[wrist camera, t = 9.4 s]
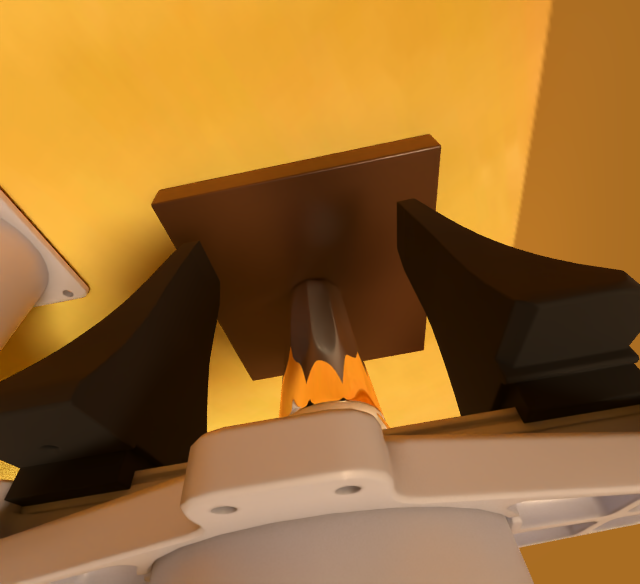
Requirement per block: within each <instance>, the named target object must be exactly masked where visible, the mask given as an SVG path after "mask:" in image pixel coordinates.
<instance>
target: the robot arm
mask: <svg viewBox="0 0 640 584" xmlns="http://www.w3.org/2000/svg"><path fill="white" fill-rule="evenodd" d="M397 250H398V253H399V256H400V260H401V263H402V265H403V268H404V271H405V273H406V275H407V277H408V279H409V281H410V283H411V285H412V287H413V289H414V291H415V293H416V295H417V297H418V299H419V301H420V303H421V305H422V307H423V309H424V311H425V313H426V315H427V317H428V320H429V322H430V324H431V327H432V329H433V332H434V335H435V338H436V340H437V343H438V346H439V349H440V352H441V354H442V357H443V360H444V363H445V366H446V369H447V372H448V375H449V378H450V382H451V385H452V388H453V391H454V394H455V397H456V401H457V404H458V407H459V411H460V414H461V416H460V417H454V418H448V419H442V420H436V421H430V422H424V423H418V424H412V425H406V426H400V427H394V428H388V429H383V430H382V428H381V425H380V423H379V422H378V421H377V419H376V418H375V417H374V416H373V415H372V414H370V413H367V412H364V411H360V410H356V409H353V408H345V409H327V410H322V411H316V412H310V413H304V414H298V415H292V416H287V417H281V418H275V419H269V420H263V421H258V422H252V423H246V424H240V425H234V426H228V427H223V428H220V429H217V430H214V431H211V432H208V433H207V397H208V377H209V363H210V356H211V350H212V345H213V339H214V334H215V329H216V323H217V318H218V312H219V306H220V280H219V278H218V276H217V274H216V272H215V270H214V268H213V266H212V264H211V262H210V260H209V258H208V256H207V254H206V252H205V250H204V248H203V246H202V244H201V243H200V241H199V240H198V241H193V242H188V243H183V244H182V245H181V246H180V247H179V248H178V249H177V250H176V251H175V252H174V253H173V254H172V255H171V256H170V257H169V258H168V259H167V260H166V261H165V262H164V263H163V264H162V265H161V266H160V267H159V268H158V269H157V271H156V272H155V273H154V274H153V275H152V276H151V277H150V278H149V279H148V280H147V281H146V282H145V283H144V284H143V285H142V286H141V287H140V288H139V289H138V290H137V291H136V292H135V293H133V294H132V295H131V296H130V297H129V298H128V299H127V300H126V301H125V302H124V303H123V304H121V305H120V306H119V307H118V308H117V309H116V310H114V311H113V312H112V313H111V314H109V315H108V316H107V317H106V318H104V319H103V320H102V321H100V322H99V323H98V324H96V325H95V326H93V327H92V328H91V329H89V330H88V331H86V332H85V333H83V334H82V335H81V336H79V337H78V338H76V339H75V340H73V341H72V342H70V343H69V344H67V345H66V346H64V347H62V348H61V349H59V350H58V351H56V352H54V353H52V354H51V355H49V356H47V357H46V358H44V359H42V360H41V361H39V362H37V363H35V364H33V365H32V366H30V367H28V368H26V369H24V370H22V371H20V372H18V373H16V374H14V375H13V376H11V377H9V378H7V379H5V380H3V381H1V382H0V460H2V461H4V462H7V463H9V464H11V465H14V466H16V467H18V468H20V470H19V472H18V474H17V476H16V478H15V480H14V481H13V480H0V584H534V583H533V581H532V578H531V576H530V573H529V571H528V569H527V566H526V564H525V562H524V559H523V557H522V555H521V553H520V550H519V547H523V546H529V545H534V544H539V543H544V542H549V541H554V540H559V539H564V538H569V537H574V536H579V535H584V534H589V533H594V532H600V531H605V530H610V529H615V528H619V527H625V526H630V525H635V524H640V369H639V368H637V366H636V365H635V364H634V363H636V362H638V360H639V356H638V355H637V354H636V353H635V352H634V351H633V350H632V349H631V347H630V346H629V345H630V344H631V343H632V341H633V340H634V339H635V337H636V336H637V335H638V334H639V333H640V284H639V283H637V282H636V281H635V280H634V279H633V278H631V277H630V276H629V275H628V274H627V273H625V272H624V271H622V270H616V269H608V268H602V267H595V266H589V265H582V264H576V263H572V262H566V261H562V260H557V259H552V258H549V257H544V256H540V255H537V254H533V253H529V252H526V251H523V250H519V249H516V248H513V247H510V246H507V245H504V244H502V243H499V242H497V241H494V240H491V239H489V238H486V237H484V236H482V235H479V234H477V233H475V232H473V231H471V230H469V229H467V228H465V227H463V226H461V225H459V224H457V223H455V222H454V221H452V220H450V219H448V218H446V217H445V216H443V215H441V214H440V213H438V212H436V211H435V210H433V209H431V208H430V207H428V206H427V205H425V204H423V203H422V202H420V201H418V200H416V199H414V198H413V199H408V200H403V201H397ZM69 291H71V292H69ZM88 292H89V288H88V286H87V285H86V284H85V283H84V282H83V281H82V280H81V279H80V278H79V276H78V275H77V274H76V273H75V272H74V271H73V270H72V269H71V267H70V266H69V265H68V264H67V263H66V262H65V261H64V260H63V259H62V257H61V256H60V255H59V254H58V253H57V252H56V251H55V250H54V249H53V247H52V246H51V245H50V244H49V243H48V242H47V241H46V240H45V238H44V237H43V236H42V235H41V234H40V233H39V232H38V231H37V230H36V228H35V227H34V226H33V225H32V224H31V223H30V222H29V221H28V220H27V218H26V217H25V216H24V215H23V214H22V213H21V212H20V211H19V210H18V208H17V207H16V206H15V205H14V204H13V203H12V202H11V201H10V199H9V198H8V197H7V196H6V195H5V194H4V193H3V192H2V191H1V189H0V351H1V350H2V348H3V347H4V345H5V344H6V343H7V341H8V340H9V339H10V337H11V336H12V335H13V333H14V332H15V330H16V329H17V328H18V326H19V325H20V324H21V322H22V321H23V320H24V318H25V317H26V316H27V314H28V313H29V311H30V310H31V309H32V307H37V306H42V305H47V304H52V303H57V302H63V301H68V300H73V299H78V298H83V297H85V296H86V295H87V293H88Z"/></svg>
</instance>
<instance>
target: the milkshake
mask: <svg viewBox="0 0 640 584" xmlns="http://www.w3.org/2000/svg"><path fill="white" fill-rule="evenodd" d="M345 408H353V409H356V410H360V411H364V412H367V413H370V414H372V415H373V416H374V417H375V418H376V419H377V421H378V422H379V423H380V425H381V428H382V430H383V429H386V428H387V429H388V428H390V427H389V426H388V424H387V423H386V421H385V419H384V416H383V413H382V410H381V408H380V405H379V402H378V399H377V396H376V394H375V391H374V388H373V385H372V382H371V380H370V377H369V374H368V371H367V369H366V367H365V364H364V362H363V360H362V357H361V354H360V351H359V348H358V345H357V342H356V338H355V335H354V332H353V329H352V326H351V323H350V319H349V316H348V313H347V310H346V307H345V303H344V300H343V298H342V295H341V292H340V289H339V287H338V286H336V285H334V284H332V283H330V282H329V281H327V280H325V279H324V280H306V281H305V282H303V283H301V284H300V285H298V286H296V287H295V288H293V289H292V291H291V294H290V296H289V299H288V302H287V315H286V331H285V347H284V364H283V379H282V389H281V400H280V410H279V418H281V417H287V416H292V415H298V414H304V413H310V412H316V411H322V410H327V409H345Z"/></svg>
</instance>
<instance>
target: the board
mask: <svg viewBox="0 0 640 584" xmlns="http://www.w3.org/2000/svg"><path fill="white" fill-rule="evenodd" d="M440 153H441V145H440V144H439V143H438V142H437V141H436V140H435V139H434V138H433V137H432V136H431V135H430V134H428V135H423V136H418V137H413V138H408V139H404V140H399V141H394V142H389V143H384V144H380V145H375V146H370V147H365V148H360V149H355V150H351V151H346V152H341V153H336V154H331V155H326V156H322V157H317V158H312V159H307V160H302V161H298V162H293V163H288V164H283V165H278V166H273V167H269V168H264V169H259V170H254V171H249V172H244V173H240V174H235V175H230V176H225V177H220V178H215V179H211V180H206V181H201V182H196V183H191V184H187V185H182V186H177V187H172V188H167V189H162V190H159V191H158V193H157V195H156V197H155V199H154V201H153V202H152V204H151V205H152V208H153V209H154V211H155V213H156V215H157V216H158V218H159V220H160V222H161V223H162V225H163V227H164V228H165V230H166V232H167V234H168V235H169V237H170V239H171V241H172V242H173V244H174V246H175V247H176V249H178V248H179V247H180V246H181V245H182V244H183V243H188V242H193V241H198V240H199V241H200V243H201V244H202V246H203V248H204V250H205V252H206V254H207V256H208V258H209V260H210V262H211V264H212V266H213V268H214V270H215V272H216V274H217V276H218V278H219V280H220V306H219V312H218V318H217V320H218V322H219V323H220V325H221V327H222V329H223V330H224V332H225V334H226V335H227V337H228V339H229V341H230V342H231V344H232V346H233V348H234V349H235V351H236V353H237V354H238V356H239V358H240V360H241V361H242V363H243V365H244V367H245V368H246V370H247V372H248V373H249V375H250V377H251V379H252V380H253V381H254V380H260V379H265V378H271V377H277V376H282V375H283V364H284V347H285V331H286V315H287V302H288V299H289V296H290V294H291V291H292V289H293V288H295V287H296V286H298V285H300V284H301V283H303V282H305V281H306V280H324V279H325V280H327V281H329V282H330V283H332V284H334V285H336V286H338V287H339V289H340V292H341V295H342V298H343V300H344V303H345V307H346V310H347V313H348V316H349V319H350V323H351V326H352V329H353V332H354V335H355V338H356V342H357V345H358V348H359V351H360V354H361V357H362V360H363V361H366V360H371V359H377V358H383V357H388V356H394V355H399V354H405V353H411V352H416V351H422V350H424V341H425V329H426V317H427V315H426V313H425V311H424V309H423V307H422V305H421V303H420V301H419V299H418V297H417V295H416V293H415V291H414V289H413V287H412V285H411V283H410V281H409V279H408V277H407V275H406V273H405V271H404V268H403V265H402V263H401V260H400V256H399V253H398V250H397V201H403V200H408V199H413V198H414V199H416V200H418V201H420V202H422V203H423V204H425V205H427V206H428V207H430V208H431V209H433V210H435V211H436V200H437V188H438V176H439V165H440Z"/></svg>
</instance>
